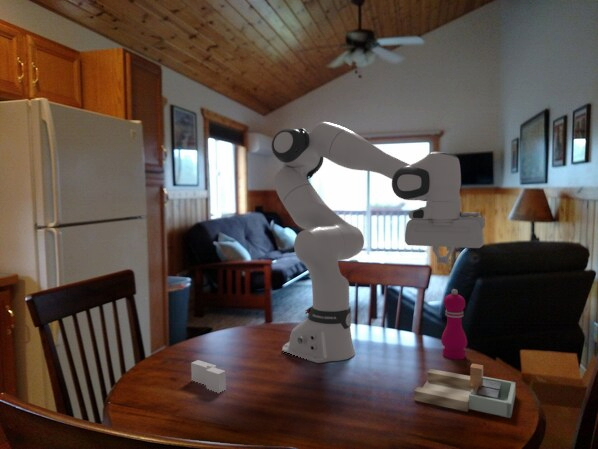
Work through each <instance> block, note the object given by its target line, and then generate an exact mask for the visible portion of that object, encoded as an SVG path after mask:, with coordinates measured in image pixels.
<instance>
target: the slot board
mask: <svg viewBox="0 0 598 449" xmlns="http://www.w3.org/2000/svg"><path fill="white" fill-rule="evenodd" d="M472 387H473V386H470V375H465V374H460V373H455V372H449V371H445V370H439V369H434V368H430V369H429V370H428V371H427V381H426V382H425V383H424V385H423V386H422V387H421V386H417V387H416V388H415V389H414V391H413V392H414V396H413V397H414V399H413V400H414V401H418V402H421V403H427V404H430V405H435V406H439V407H444V408H449V409H453V410H458V411H461V412H465V413H466V412H467V413H468V411H469V410H470V409H469V394H471V390H472Z"/></svg>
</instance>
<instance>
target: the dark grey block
mask: <svg viewBox="0 0 598 449" xmlns="http://www.w3.org/2000/svg"><path fill="white" fill-rule="evenodd" d="M482 387H485V388H490V389H495V390H499V400H500V398H501V382H495V381H490V380H485V379H483V385H482Z"/></svg>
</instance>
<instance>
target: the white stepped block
mask: <svg viewBox="0 0 598 449" xmlns="http://www.w3.org/2000/svg"><path fill="white" fill-rule="evenodd" d="M190 366H191V367H190V368H191V369H190V370H191V381H192V380H193V381H195V382H194V383H196V382H198V383H197V384H199V383H201V384H200V385H202V384H204V385H203V386H205V385H206V386H205V389H206V388H207V389H206V390H208V389H209V390H208V391H211V390H212V391H211V392H213V391H214V392H215V393H216V392H217V394H221V393H223V392H225V391H227V380H226V379H227V378H226V377H227V375H226V370H224V369H221V368H217V365H216V364H213V363H209V362H206V361H203V360H199V359H197V360H195V361H192V362H191V364H190ZM193 381H192V382H193ZM224 390H225V391H224ZM222 391H223V392H222ZM220 392H221V393H220Z"/></svg>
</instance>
